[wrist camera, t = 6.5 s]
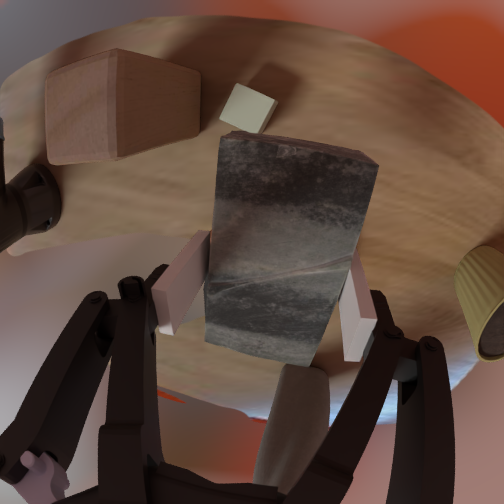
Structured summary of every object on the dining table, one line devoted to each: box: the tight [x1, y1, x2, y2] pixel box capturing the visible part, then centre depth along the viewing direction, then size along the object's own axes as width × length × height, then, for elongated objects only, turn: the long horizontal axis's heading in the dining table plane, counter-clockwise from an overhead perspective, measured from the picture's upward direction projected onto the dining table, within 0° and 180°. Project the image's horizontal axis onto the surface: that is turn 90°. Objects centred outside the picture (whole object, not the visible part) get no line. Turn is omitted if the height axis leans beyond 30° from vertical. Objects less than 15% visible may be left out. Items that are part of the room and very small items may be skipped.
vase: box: [253, 364, 330, 494], centre depth 42 cm, size 12×12×30 cm
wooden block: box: [45, 48, 201, 165], centre depth 27 cm, size 10×10×20 cm
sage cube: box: [219, 83, 278, 134], centre depth 32 cm, size 5×5×5 cm
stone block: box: [203, 131, 379, 367], centre depth 17 cm, size 9×14×5 cm, turn 172°
